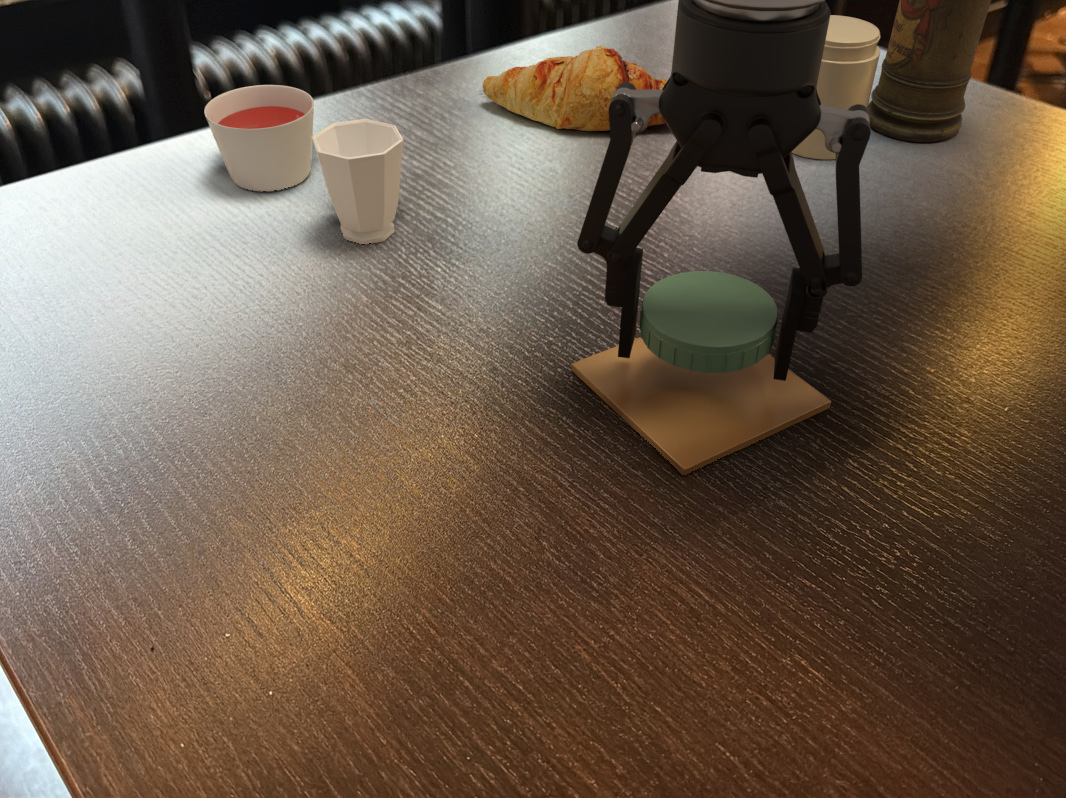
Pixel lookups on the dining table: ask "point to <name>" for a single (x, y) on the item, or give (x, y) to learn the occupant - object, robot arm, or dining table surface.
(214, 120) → the candle
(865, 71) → the jar
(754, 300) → the lid
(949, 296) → the dining table surface
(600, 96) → the croissant
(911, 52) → the container
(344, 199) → the cup
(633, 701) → the dining table surface
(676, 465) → the coaster
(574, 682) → the dining table surface
